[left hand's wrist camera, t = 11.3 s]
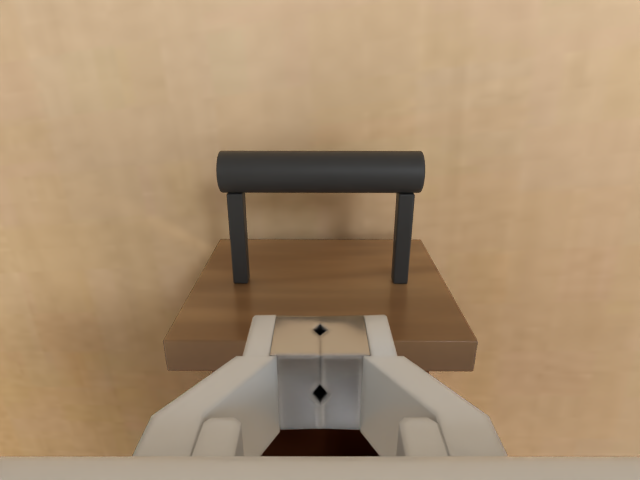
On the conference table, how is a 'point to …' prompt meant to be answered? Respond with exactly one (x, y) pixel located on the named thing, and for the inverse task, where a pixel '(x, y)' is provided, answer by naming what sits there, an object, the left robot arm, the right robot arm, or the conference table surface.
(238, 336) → the drawer
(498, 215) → the conference table surface
